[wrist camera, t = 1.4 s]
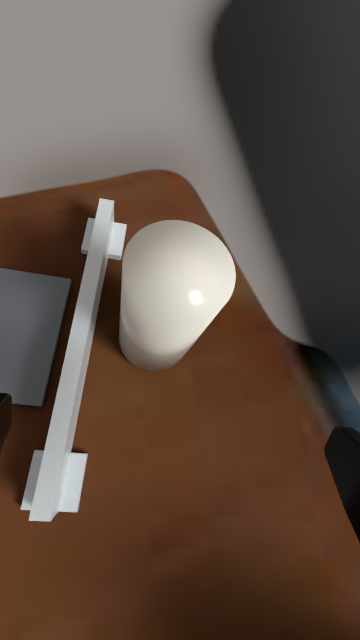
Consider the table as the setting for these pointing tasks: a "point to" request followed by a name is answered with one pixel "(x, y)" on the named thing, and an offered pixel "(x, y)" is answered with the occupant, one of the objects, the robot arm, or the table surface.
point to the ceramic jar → (171, 291)
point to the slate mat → (29, 332)
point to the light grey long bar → (73, 380)
